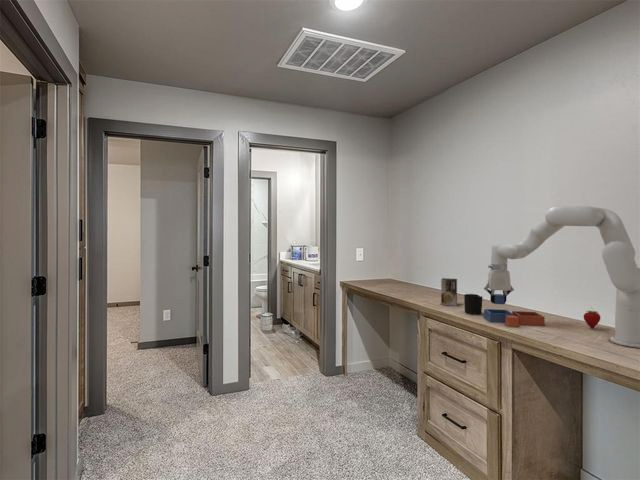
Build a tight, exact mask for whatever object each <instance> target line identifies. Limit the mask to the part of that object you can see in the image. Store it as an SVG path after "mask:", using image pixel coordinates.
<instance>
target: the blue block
mask: <svg viewBox="0 0 640 480" xmlns="http://www.w3.org/2000/svg"><path fill="white" fill-rule="evenodd" d="M494 296H495V303H493V304H494V305H505V304H504V297H505V296H504V295H503V293H494Z"/></svg>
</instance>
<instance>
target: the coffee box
mask: <svg viewBox="0 0 640 480" xmlns="http://www.w3.org/2000/svg"><path fill="white" fill-rule="evenodd" d="M440 285H441V286H440V288H441V289H440V294H441V295H440V298H441V299H440V300H441V301H440V305H441V306H450V307H451V306H452V307H457V305H458V278H448V277H447V278H446V277H442V278H441V281H440Z"/></svg>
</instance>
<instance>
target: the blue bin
mask: <svg viewBox="0 0 640 480" xmlns="http://www.w3.org/2000/svg"><path fill="white" fill-rule="evenodd" d="M506 315H509V316H514V314H512V312H511V311H509V310H508V309H500V308H499V309H496V308H484V309H483V318H484V319H485V320H487V321H488V322H489V323H497V324H498V323H499V324H500V323H501V324H505V319H506Z"/></svg>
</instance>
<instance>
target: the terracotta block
mask: <svg viewBox="0 0 640 480" xmlns="http://www.w3.org/2000/svg"><path fill="white" fill-rule="evenodd" d="M518 320H519V318H518V317H516V316H509V315H506V319H505V323H504V324H505V326H506V327H509V328H518V327H519V324H518Z"/></svg>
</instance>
